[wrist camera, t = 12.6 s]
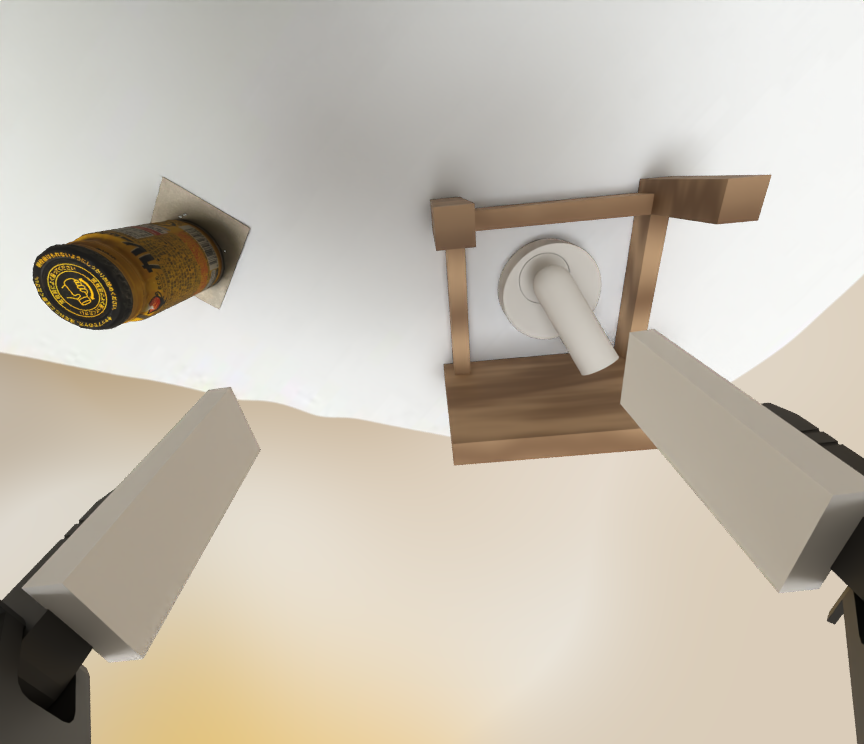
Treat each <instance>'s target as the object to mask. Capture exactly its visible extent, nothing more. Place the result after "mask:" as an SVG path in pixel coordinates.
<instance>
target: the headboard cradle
mask: <svg viewBox="0 0 864 744" xmlns="http://www.w3.org/2000/svg"><path fill="white" fill-rule="evenodd" d="M770 178H771V175H726V176H668V177H658V178H648V179H640V183H639V190H638V193H629V194H618V195H608V196H598V197H587V198H577V199H567V200H556V201H546V202H536V203H525V204H515V205H505V206H494V207H484V208H475V204H474V203H472V202H470V201H468V200H466V199H463V198H461V197H453V198H443V199H433V200H430V204H431V216H432V228H433V235H434V241H435V246H436V251H440V250H446V265H447V279H448V294H449V309H450V323H451V338H452V353H453V364H444V376H445V386H446V396H447V405H448V414H449V423H450V433H451V441H452V451H453V460H454V465H464V464H476V463H489V462H501V461H514V460H525V459H538V458H550V457H562V456H575V455H587V454H599V453H611V452H623V451H636V450H647V449H658V448H657V447H656V446H655V445H654V444H653V442H652V441H651V440H650V439H649V438H648V436H647V435H646V434H645V433H644V432H643V430H642V429H641V428H640V427H639V426H638V424H637V423H636V422H635V421H634V420H633V418H632V417H631V416H630V415H629V414H628V412H627V411H626V410H625V409H624V408H623V406H622V405H621V404H620V401H621V393H622V386H623V378H624V371H625V363H626V356H627V348H628V341H629V333H630V332H636V331H644V330H647V328H648V322H649V317H650V312H651V307H652V302H653V297H654V292H655V286H656V281H657V276H658V271H659V266H660V261H661V256H662V250H663V245H664V240H665V235H666V230H667V225H668V220H669V217H672V218H679V219H685V220H692V221H699V222H705V223H712V224H725V223H736V222H746V221H757V220H758V218H759V215H760V212H761V208H762V205H763V202H764V198H765V195H766V192H767V188H768V185H769V182H770ZM628 216H634V222H633V229H632V235H631V242H630V248H629V255H628V261H627V268H626V274H625V281H624V287H623V294H622V300H621V307H620V313H619V320H618V326H617V333H616V339H615V346H614V349H615V351H616V353H617V355H618V356H619V358H618V360H616V361H615V362H614V363H612V364H611V365H609V366H607V367H606V368H604V369H602V370H600V371H597V372H595V373H592V374H589V375H582V374H581V373H580V371H579V369H578V368H577V366H576V364H575V362H574V361H573V359H572V357H571V355H570V354H569V353H567V354H556V355H544V356H533V357H521V358H510V359H499V360H487V361H476V362H470V352H469V330H468V307H467V285H466V262H465V248H471V247H476V235H475V231H481V230H492V229H502V228H513V227H523V226H533V225H544V224H554V223H565V222H575V221H586V220H596V219H607V218H617V217H628Z"/></svg>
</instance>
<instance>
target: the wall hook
mask: <svg viewBox="0 0 864 744" xmlns="http://www.w3.org/2000/svg"><path fill="white" fill-rule="evenodd" d="M600 292H601V276H600V271H599V268H598V266H597V264H596V262H595V261H594V259H593V258H592V257H591V256H590V255H589V254H588V253H587V252H586V251H585V250H583V249H582V248H580V247H578V246H576V245H573V244H571V243H569V242H566V241H564V240H560V239H541V240H537V241H534V242H532V243H529V244H527V245H525V246H524V247H522V248H521V249H519V250H518V251H517V252H516V253H515V254H514V255H513V256H512V257H511V258H510V259H509V260H508V262H507V263H506V265H505V267H504V269H503V271H502V273H501V276H500V279H499V284H498V297H499V302H500V305H501V308H502V310H503V311H504V313H505V315H506V316H507V318H508V320H509V321H510V323H511V324H512V325H513V326H514V327H515V328H516V329H517V330H518V331H520V332H521V333H523V334H525V335H527V336H529V337H532V338H537V339H553V338H558V337H560V338H561V340H562V342H563V343H564V345H565V347H566V349H567V350H568V352H569V354H570V355H571V357H572V359H573V361H574V362H575V364H576V366H577V368H578V369H579V371H580V373H581V374H582V375H589V374H592V373H595V372H597V371H600V370H602V369H604V368H606V367H607V366H609V365H611V364H612V363H614V362H615V361H616V360H618V358H619V356H618V355H617V353H616V351H615V349H614V348H613V346H612V344H611V343H610V341H609V339H608V337H607V336H606V334H605V332H604V331H603V329H602V327H601V325H600V324H599V322H598V320H597V318H596V317H595V315H594V313H593V310H594V309H595V307H596V305H597V302H598V300H599V296H600Z"/></svg>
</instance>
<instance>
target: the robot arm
mask: <svg viewBox="0 0 864 744" xmlns="http://www.w3.org/2000/svg"><path fill="white" fill-rule="evenodd" d="M620 404H621V405H622V406H623V408H624V409H625V410H626V411H627V412H628V414H629V415H630V416H631V417H632V418H633V420H634V421H635V422H636V423H637V424H638V426H639V427H640V428H641V429H642V430H643V432H644V433H645V434H646V435H647V436H648V438H649V439H650V440H651V441H652V442H653V444H654V445H655V446H656V447H657V448H658V449H659V451H660V452H661V453H662V454H663V455H664V457H665V458H666V459H667V460H668V461H669V463H670V464H671V465H672V466H673V467H674V469H675V470H676V471H677V472H678V473H679V475H680V476H681V477H682V478H683V479H684V480H685V482H686V483H687V484H688V485H689V487H690V488H691V489H692V490H693V491H694V493H695V494H696V495H697V496H698V497H699V498H700V500H701V501H702V502H703V503H704V504H705V506H706V507H707V508H708V509H709V510H710V512H711V513H712V514H713V515H714V516H715V518H716V519H717V520H718V521H719V522H720V524H721V525H722V526H723V527H724V528H725V530H726V531H727V532H728V533H729V534H730V536H731V537H732V538H733V539H734V540H735V541H736V543H737V544H738V545H739V546H740V547H741V549H742V550H743V551H744V552H745V553H746V555H747V556H748V557H749V558H750V559H751V561H752V562H753V563H754V564H755V565H756V567H757V568H758V569H759V570H760V571H761V572H762V574H763V575H764V576H765V577H766V579H767V580H768V581H769V582H770V583H771V584H772V586H773V587H774V588H775V589H776V591H777V592H778V593H784V592H794V591H804V590H813V589H819V588H820V586H821V585H822V583H823V582H824V580H825V579H826V577H827V576H828V574H829V572H830V571H831V570H833V571H834V572H835V573H836V574H837V575H838V576H839V577H840V578H841V579H842V580H843V581H844V582H845V583H846V584H847V585H848V586H847V588H846V589H845V591H844V592H843V593H842V595H841V596H840V598H839V599H838V601H837V602H836V603H835V605H834V606H833V608H832V609H831V611H830V612H829V615H828V618H827V621H828V622H830V623H833V624H836V622H837V621H838V620H839V618H840V617H841V615H843V614H844V619H845V628H846V638H847V648H848V658H849V667H850V677H851V686H852V697H853V705H854V715H855V724H856V725H855V726H856V735H857V744H864V458H862V457H861V456H859V455H858V454H856V453H855V452H853V451H852V450H850V449H849V448H847V447H846V446H844V445H843V444H842V445H839V444H838V441H836V440H835V439H834V438H832V437H831V436H829V435H828V434H826V433H824V432H820V431H819V428H817V427H815V426H814V425H813V424H811V423H810V422H808V421H807V420H805V419H803V418H802V417H800V416H799V415H797V414H795V413H793V412H791V411H788V410H786V409H783V408H781V407H778V406H776V405H774V404H771V403H763V404H760V403H759V402H757V401H756V400H754V399H753V398H752V397H750V396H749V395H747V394H746V393H745V392H743V391H742V390H740V389H739V388H737V387H736V386H735V385H733V384H732V383H730V382H729V381H728V380H726V379H725V378H723V377H722V376H720V375H719V374H718V373H716V372H715V371H713V370H712V369H710V368H709V367H708V366H706V365H705V364H703V363H702V362H700V361H699V360H698V359H696V358H695V357H693V356H692V355H690V354H689V353H688V352H686V351H685V350H683V349H682V348H680V347H679V346H678V345H676V344H675V343H673V342H672V341H670V340H669V339H668V338H666V337H665V336H663V335H662V334H660V333H659V332H658V331H656V330H655V329H651V330H644V331H636V332H630V333H629V341H628V348H627V356H626V363H625V371H624V378H623V386H622V393H621V401H620ZM260 450H261V449H260V447H259V445H258V443H257V441H256V439H255V437H254V435H253V432H252V430H251V428H250V426H249V424H248V422H247V420H246V418H245V416H244V414H243V411H242V409H241V407H240V405H239V403H238V401H237V399H236V397H235V395H234V393H233V391H232V389H231V387H227V388H219V389H212V390H208V391H207V392H206V393H205V394H204V396H203V397H202V398H201V399H200V400H199V401H198V402H197V403H196V404H195V405H194V406H193V407H192V408H191V409H190V410H189V411H188V412H187V413H186V414H185V416H184V417H183V418H182V419H181V420H180V421H179V422H178V423H177V424H176V425H175V426H174V427H173V428H172V429H171V430H170V431H169V432H168V434H167V435H166V436H165V437H164V438H163V439H162V440H161V441H160V442H159V443H158V444H157V445H156V446H155V447H154V448H153V449H152V450H151V451H150V453H149V454H148V455H147V456H146V457H145V458H144V459H143V460H142V461H141V462H140V463H139V464H138V465H137V466H136V468H134V469H133V471H132V472H131V473H130V474H129V475H128V476H127V477H126V478H125V479H124V480H123V481H122V482H121V483H120V484H119V485H118V486H117V487H116V488H115V489H114V490H113V491H111V492H110V493H108V494H107V495H106V496H104V497H103V498H102V499H100V500H99V501H98V502H96V503H95V504H94V505H93V506H92V507H91V509H89V511H88V512H87V513H86V514H85V515H84V516H83V517H82V518H81V519H80V520H79V524H75V525H74V526H73V527H72V528H71V529H70V530H69V531H68V532H67V534H65V538H64V539H62V540H60V541H59V542H58V543H57V544H56V545H55V546H54V547H53V548H52V549H51V550H50V551H49V552H48V553H47V554H46V555H45V556H44V557H43V558H42V560H40V562H39V563H37V565H36V566H35V567H34V568H33V569H32V570H31V571H30V572H29V573H28V574H27V575H26V576H25V577H24V578H23V579H22V580H21V581H20V582H19V583H18V584H17V585H16V586H15V587H14V588H13V589H12V590H11V592H10V593H9V594H8V595H7V596H6V597H5V598H4V599H3V600H2V601H1V600H0V744H91V726H90V725H91V724H90V723H91V720H90V676H89V673H88V671H87V668H85V667H84V666H83V665H82V663H83V662H84V660H85V659H86V657H87V656H88V654H89V653H90V651H91V650H92V649H94V650H95V651H96V652H97V653H99V654H100V655H101V656H102V657H103V658H104V659H105V660H107V661H108V662H118V661H128V660H138V659H143V658H144V656H145V655H146V653H147V651H148V649H149V648H150V646H151V644H152V642H153V640H154V639H155V637H156V635H157V633H158V632H159V630H160V628H161V626H162V624H163V623H164V621H165V619H166V617H167V615H168V614H169V612H170V610H171V608H172V607H173V605H174V603H175V601H176V599H177V598H178V596H179V594H180V592H181V591H182V589H183V587H184V585H185V584H186V582H187V580H188V578H189V576H190V575H191V573H192V571H193V569H194V567H195V566H196V564H197V562H198V560H199V559H200V557H201V555H202V553H203V552H204V550H205V548H206V546H207V544H208V543H209V541H210V539H211V537H212V536H213V534H214V532H215V530H216V528H217V527H218V525H219V523H220V521H221V520H222V518H223V516H224V514H225V513H226V510H227V509H228V507H229V505H230V504H231V502H232V500H233V498H234V497H235V495H236V493H237V491H238V489H239V487H240V486H241V484H242V482H243V481H244V479H245V477H246V475H247V473H248V472H249V470H250V468H251V466H252V465H253V463H254V461H255V459H256V457H257V456H258V454H259V452H260Z"/></svg>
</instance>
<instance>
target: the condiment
mask: <svg viewBox="0 0 864 744" xmlns="http://www.w3.org/2000/svg"><path fill="white" fill-rule="evenodd" d="M183 214H187V215H186V216H182V215H183ZM178 216H182V218H179V217H178ZM249 230H250V228H248V227H247V226H245V225H243V224H242V223H240V222H239V221H237V220H235V219H234V218H232V217H231V216H229V215H227V214H225V213H224V212H222V211H221V210H219V209H217V208H216V207H214V206H212V205H210V204H209V203H207V202H205V201H204V200H202V199H201V198H199V197H197V196H195V195H193V194H191V193H190V192H188V191H186V190H185V189H183V188H182V187H180V186H178V185H176V184H174V183H173V182H171V181H169V180H167V179H166V178H164V177H163V178H162V182H161V184H160V188H159V193H158V196H157V199H156V204H155V208H154V210H153V215H152V219H151V223H150V224H143V225H137V226H131V227H124V228H118V229H112V230H106V231H100V232H95V233H88V234H84V235H82V236H81V237H79V238H77V239H76V240H75V241H73V242H69V243H67V244H62V245H58V244H56V245H54V246H51V247H49V248H47V249H46V250H45V251H44V252H42V253H41V254H40V255H39V256H37V258H36V260H35V262H34V267H33V281H34V284H35V286H36V288H37V291H38V294H39V296H40V297H41V299H42V300H43V301H44V302H45V303H46V305H47V306H48V307H49V308H50V309H51V310H52V311H53V312H55V313H56V314H57V315H58V316H60V317H61V318H63V319H64V320H66V321H68V322H70V323H72V324H75V325H77V326H79V327H80V328H86V329H92V330H103V329H112V328H114V327H117V326H119V325H121V324H123V323H127V322H129V321H140V320H144V319H147V318H149V317H151V316H154V315H156V314H157V313H159V312H162V311H164V310H165V309H168V308H170V307H172V306H174V305H176V304H178V303H180V302H182V301H184V300H186V299H188V298H190V297H192V296H196V297H197V298H199V299H201V300H202V301H204V302H206V303H208V304H210V305H212V306H214V307H216V308H218V309H219V308H220V306H221V303H222V301H223V298H224V296H225V293H226V291H227V288H228V286H229V283H230V281H231V278H232V275H233V272H234V270H235V266H236V263H237V261H238V259H239V256H240V254H241V251H242V249H243V246H244V243H245V240H246V237H247V235H248V232H249ZM224 251H226V252H224Z"/></svg>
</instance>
